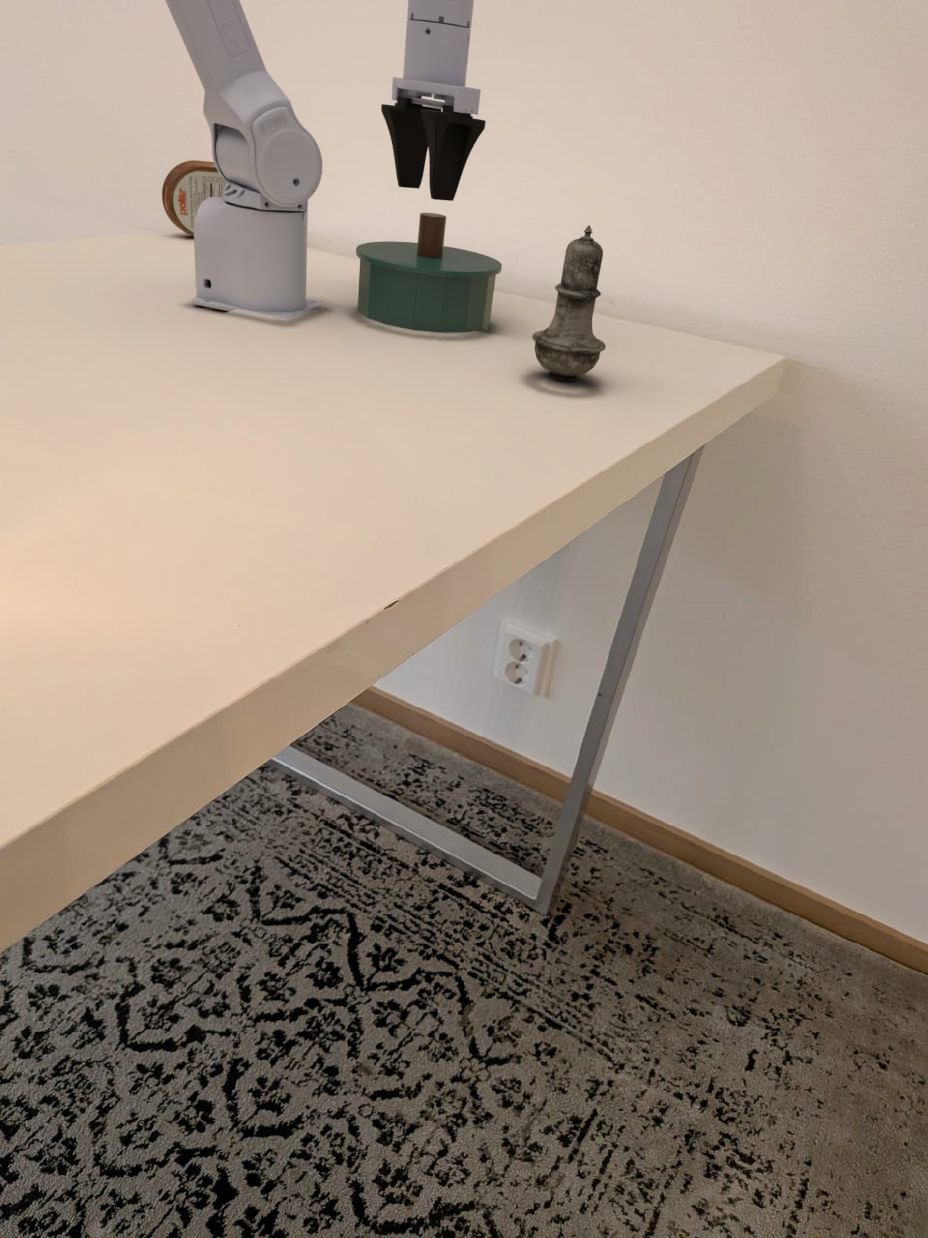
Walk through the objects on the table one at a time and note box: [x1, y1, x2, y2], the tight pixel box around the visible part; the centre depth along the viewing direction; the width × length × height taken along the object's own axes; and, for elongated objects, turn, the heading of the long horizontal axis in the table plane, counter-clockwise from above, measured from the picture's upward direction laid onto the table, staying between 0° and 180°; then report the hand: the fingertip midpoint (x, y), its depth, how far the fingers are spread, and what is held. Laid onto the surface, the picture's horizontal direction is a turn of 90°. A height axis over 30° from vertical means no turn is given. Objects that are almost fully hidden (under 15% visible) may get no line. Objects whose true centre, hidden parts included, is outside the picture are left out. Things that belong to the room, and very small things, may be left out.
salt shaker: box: [531, 225, 607, 383], centre depth 68 cm, size 6×6×12 cm
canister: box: [357, 258, 497, 334], centre depth 83 cm, size 13×13×5 cm
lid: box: [355, 212, 503, 278], centre depth 81 cm, size 14×14×5 cm
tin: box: [161, 159, 226, 237], centre depth 108 cm, size 15×3×8 cm, turn 119°
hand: (425, 193), depth 85 cm, fingers open, 7 cm apart
